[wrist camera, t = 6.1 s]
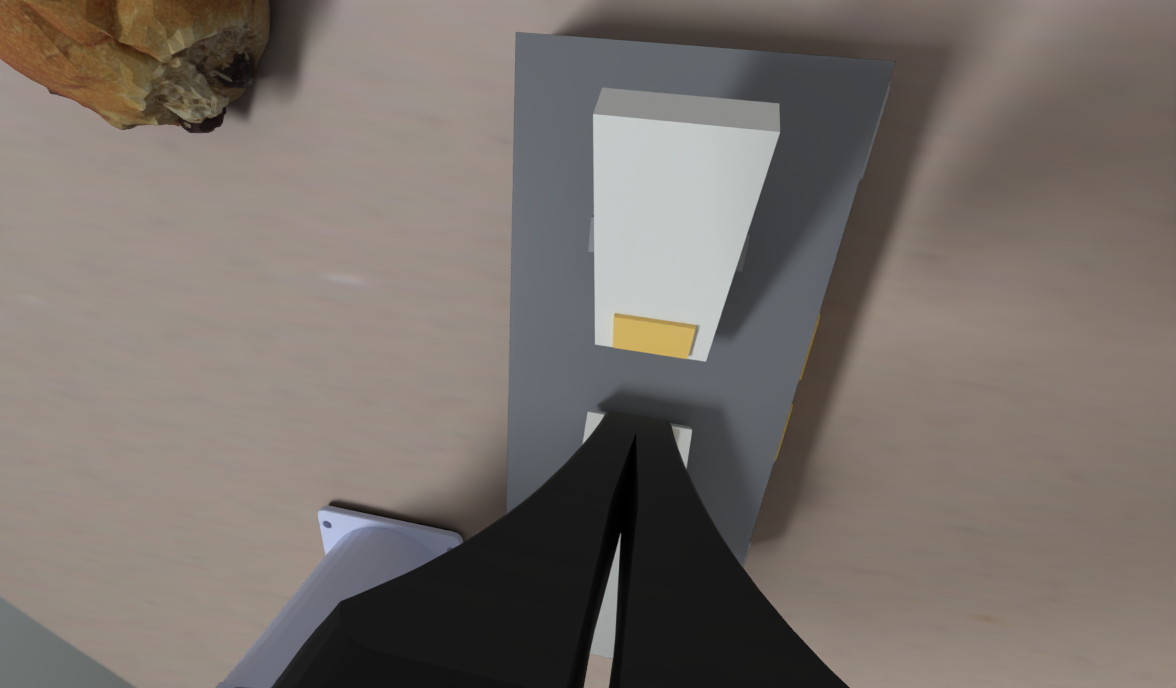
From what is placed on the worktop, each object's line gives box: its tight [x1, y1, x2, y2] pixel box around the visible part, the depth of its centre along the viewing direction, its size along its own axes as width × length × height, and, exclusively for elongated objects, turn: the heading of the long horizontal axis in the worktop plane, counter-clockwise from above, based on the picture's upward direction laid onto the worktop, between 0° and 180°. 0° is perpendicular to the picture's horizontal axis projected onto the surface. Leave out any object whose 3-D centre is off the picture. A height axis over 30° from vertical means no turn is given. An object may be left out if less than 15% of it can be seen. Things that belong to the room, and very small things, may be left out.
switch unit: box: [506, 32, 896, 568], centre depth 18 cm, size 20×10×4 cm, turn 175°
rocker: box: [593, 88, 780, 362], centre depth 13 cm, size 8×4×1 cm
